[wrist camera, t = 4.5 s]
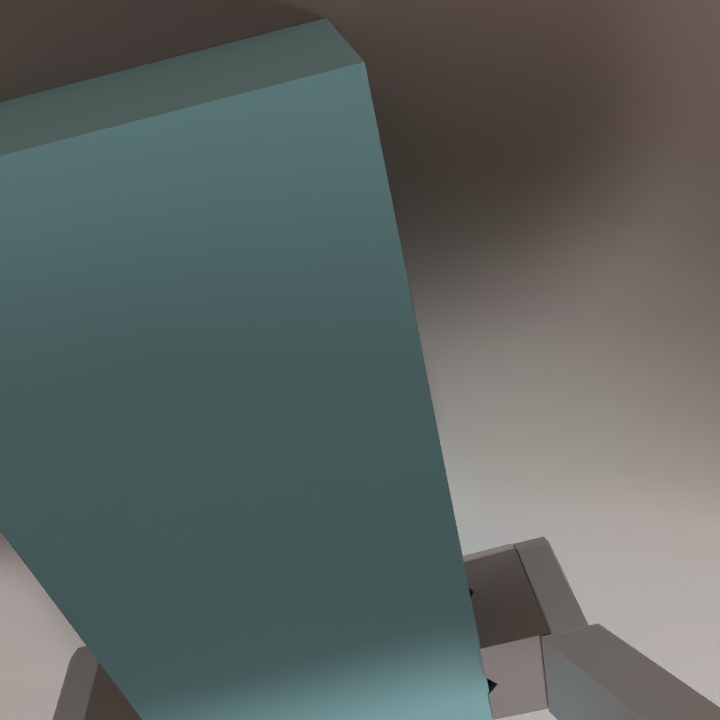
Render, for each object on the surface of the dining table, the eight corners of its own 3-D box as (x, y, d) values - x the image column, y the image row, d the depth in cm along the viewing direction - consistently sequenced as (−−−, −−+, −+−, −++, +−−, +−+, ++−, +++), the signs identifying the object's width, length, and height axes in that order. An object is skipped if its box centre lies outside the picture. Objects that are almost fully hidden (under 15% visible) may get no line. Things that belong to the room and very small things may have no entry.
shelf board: (-25, 108, 8) (-237, 216, 5) (325, 16, 8) (364, 62, 5) (306, 748, 17) (315, 950, 13) (478, 708, 17) (530, 900, 13)
